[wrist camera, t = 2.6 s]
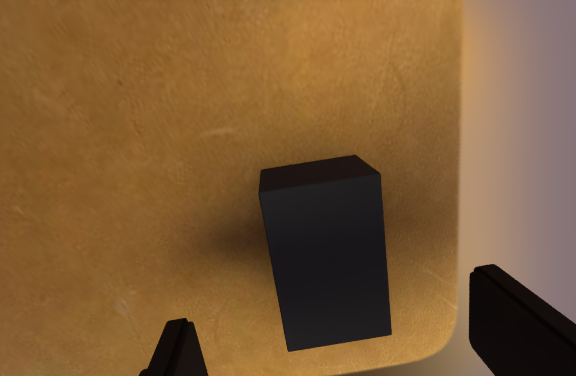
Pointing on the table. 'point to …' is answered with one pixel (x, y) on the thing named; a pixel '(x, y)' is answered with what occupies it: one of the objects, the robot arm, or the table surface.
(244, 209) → the table surface
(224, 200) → the table surface
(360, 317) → the loose pad
